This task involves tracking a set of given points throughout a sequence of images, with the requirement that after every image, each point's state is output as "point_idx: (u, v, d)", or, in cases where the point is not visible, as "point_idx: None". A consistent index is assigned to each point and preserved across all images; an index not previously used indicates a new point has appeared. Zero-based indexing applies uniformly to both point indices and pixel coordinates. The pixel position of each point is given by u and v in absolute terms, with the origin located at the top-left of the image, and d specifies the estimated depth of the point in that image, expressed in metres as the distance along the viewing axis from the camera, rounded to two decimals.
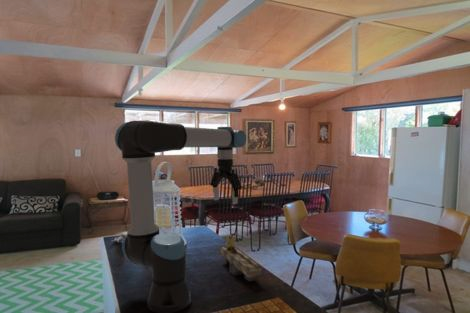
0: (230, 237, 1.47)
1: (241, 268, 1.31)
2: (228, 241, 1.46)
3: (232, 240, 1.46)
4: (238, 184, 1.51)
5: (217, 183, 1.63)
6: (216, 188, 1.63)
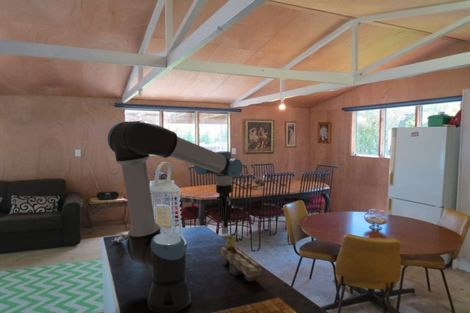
0: (230, 237, 1.47)
1: (241, 268, 1.31)
2: (228, 241, 1.46)
3: (232, 240, 1.46)
4: (227, 216, 1.49)
5: None
6: None
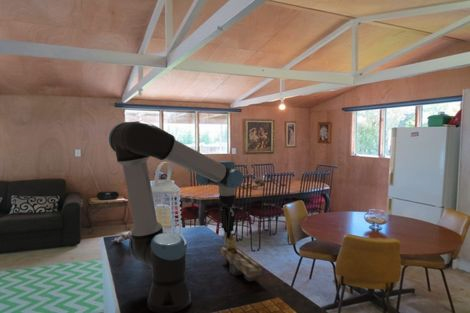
0: (231, 238, 1.46)
1: (241, 268, 1.31)
2: (229, 242, 1.45)
3: (233, 241, 1.45)
4: (230, 227, 1.46)
5: None
6: None
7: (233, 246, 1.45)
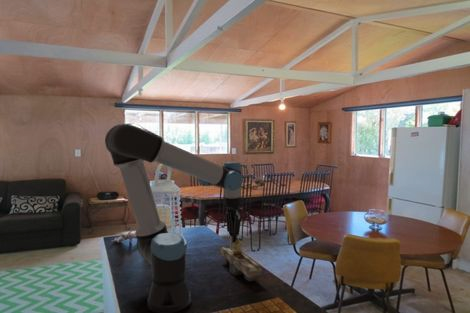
0: (237, 242, 1.40)
1: (241, 268, 1.31)
2: (235, 246, 1.39)
3: (239, 245, 1.39)
4: (236, 231, 1.40)
5: None
6: None
7: (239, 250, 1.39)
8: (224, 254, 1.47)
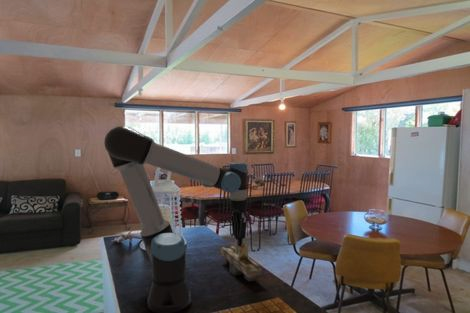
0: (243, 246, 1.35)
1: (241, 268, 1.31)
2: (241, 250, 1.34)
3: (245, 249, 1.34)
4: (242, 234, 1.35)
5: None
6: None
7: (245, 255, 1.34)
8: (224, 254, 1.47)
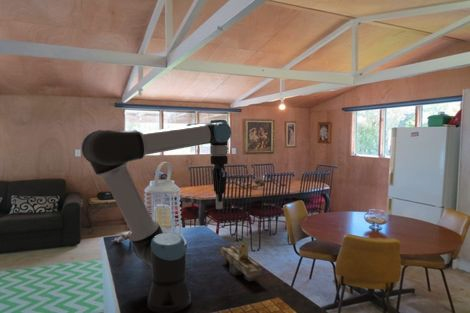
0: (243, 246, 1.35)
1: (241, 268, 1.31)
2: (241, 250, 1.34)
3: (245, 249, 1.34)
4: (221, 189, 1.39)
5: None
6: None
7: (245, 255, 1.34)
8: (224, 254, 1.47)
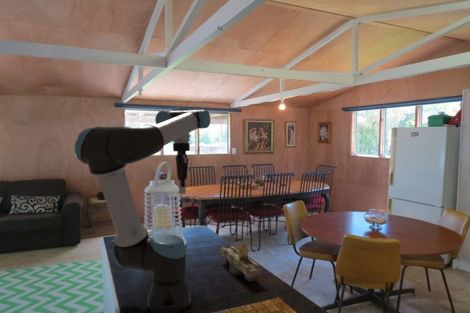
0: (243, 246, 1.35)
1: (241, 268, 1.31)
2: (241, 250, 1.34)
3: (245, 249, 1.34)
4: (183, 174, 1.44)
5: None
6: None
7: (245, 255, 1.34)
8: (224, 254, 1.47)
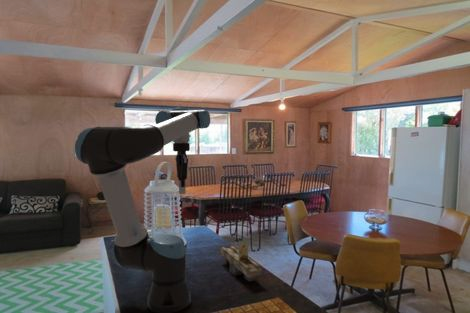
0: (243, 246, 1.35)
1: (241, 268, 1.31)
2: (241, 250, 1.34)
3: (245, 249, 1.34)
4: (183, 174, 1.44)
5: None
6: None
7: (245, 255, 1.34)
8: (224, 254, 1.47)
